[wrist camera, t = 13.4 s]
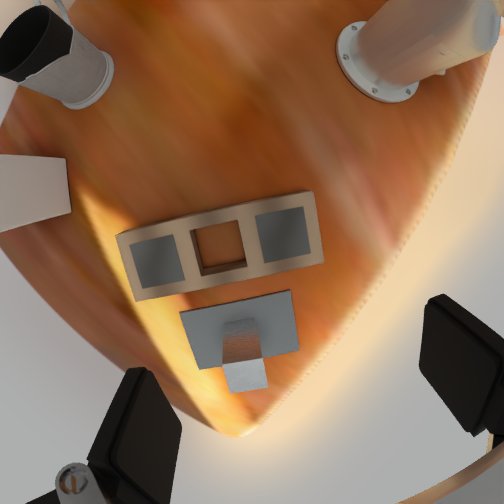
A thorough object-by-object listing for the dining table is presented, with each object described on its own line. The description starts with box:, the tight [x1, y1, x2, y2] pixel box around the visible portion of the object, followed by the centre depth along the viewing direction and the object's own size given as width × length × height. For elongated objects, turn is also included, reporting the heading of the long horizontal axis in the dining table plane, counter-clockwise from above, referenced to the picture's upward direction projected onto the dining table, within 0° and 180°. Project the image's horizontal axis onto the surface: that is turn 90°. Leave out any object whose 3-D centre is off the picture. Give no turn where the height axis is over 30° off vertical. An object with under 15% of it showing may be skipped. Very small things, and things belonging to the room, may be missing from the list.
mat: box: [179, 289, 300, 370], centre depth 36 cm, size 14×9×1 cm, turn 102°
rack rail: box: [115, 190, 324, 302], centre depth 32 cm, size 22×8×3 cm, turn 102°
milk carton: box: [0, 155, 71, 232], centre depth 21 cm, size 7×7×19 cm
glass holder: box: [0, 0, 114, 109], centre depth 19 cm, size 9×14×15 cm, turn 10°
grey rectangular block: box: [222, 318, 268, 393], centre depth 31 cm, size 4×4×9 cm
